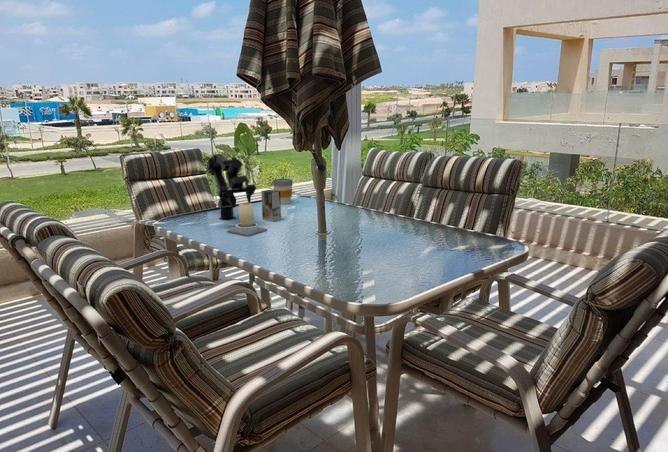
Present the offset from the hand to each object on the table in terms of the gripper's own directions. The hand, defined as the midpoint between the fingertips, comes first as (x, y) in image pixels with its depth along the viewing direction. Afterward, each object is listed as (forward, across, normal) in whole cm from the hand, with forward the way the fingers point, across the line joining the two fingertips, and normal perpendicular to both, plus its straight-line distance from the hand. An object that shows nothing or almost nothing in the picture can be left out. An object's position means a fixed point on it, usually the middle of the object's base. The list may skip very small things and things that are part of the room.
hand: (241, 204), depth 255 cm
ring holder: (+15, 0, +3) cm, 15 cm away
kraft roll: (+14, 0, +3) cm, 14 cm away
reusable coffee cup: (-26, +43, +44) cm, 67 cm away
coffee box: (+1, +20, +17) cm, 27 cm away
